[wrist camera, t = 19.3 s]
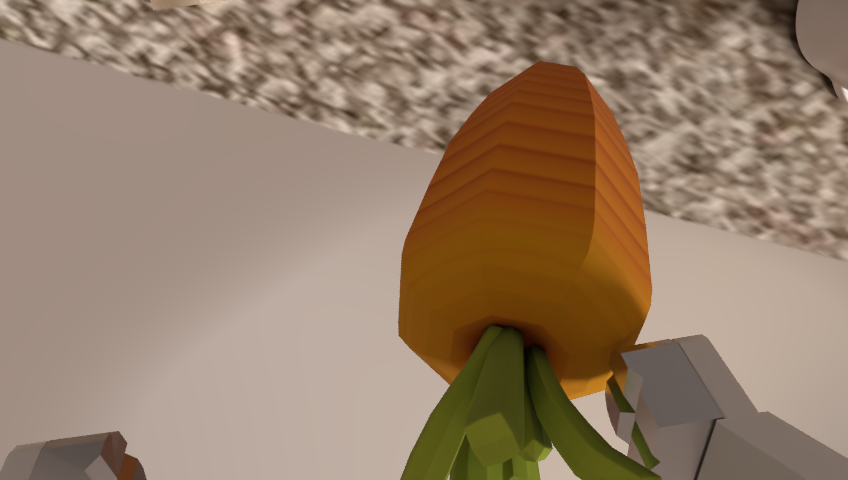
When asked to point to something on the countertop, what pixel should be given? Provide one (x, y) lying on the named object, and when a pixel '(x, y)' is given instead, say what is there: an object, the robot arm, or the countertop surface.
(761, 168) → the countertop surface
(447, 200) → the carrot
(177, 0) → the wooden frame
